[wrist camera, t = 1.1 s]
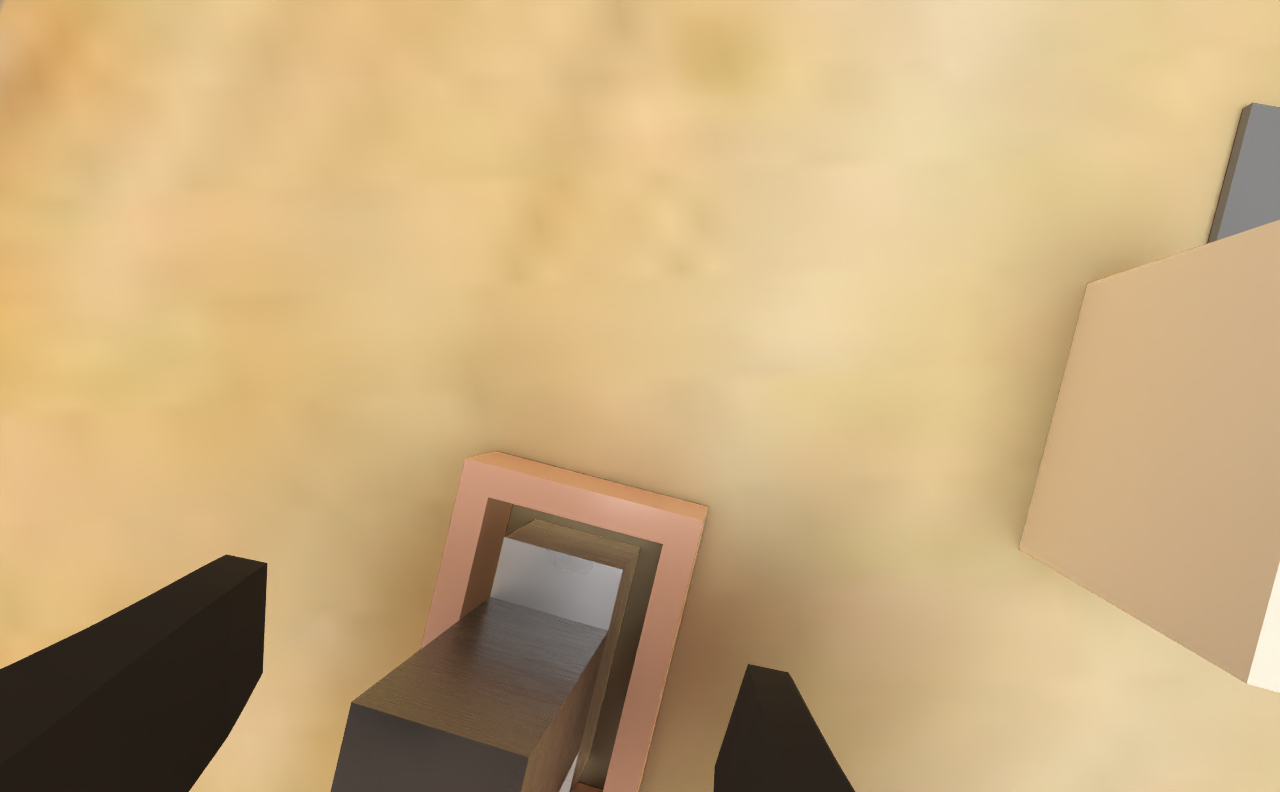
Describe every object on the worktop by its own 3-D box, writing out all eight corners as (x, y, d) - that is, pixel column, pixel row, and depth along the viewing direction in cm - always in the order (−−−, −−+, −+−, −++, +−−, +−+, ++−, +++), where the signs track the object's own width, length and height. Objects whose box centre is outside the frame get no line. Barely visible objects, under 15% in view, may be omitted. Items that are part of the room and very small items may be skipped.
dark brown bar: (640, 547, 23) (551, 664, 13) (589, 757, 23) (463, 1032, 13) (536, 518, 23) (372, 611, 13) (487, 725, 23) (289, 969, 13)
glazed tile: (1109, 572, 21) (1424, 730, 11) (1018, 549, 21) (1246, 683, 11) (1180, 303, 21) (1566, 220, 11) (1087, 283, 21) (1381, 186, 11)
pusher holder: (708, 506, 22) (702, 520, 20) (630, 828, 23) (614, 881, 20) (496, 451, 23) (465, 458, 21) (423, 762, 24) (383, 806, 21)
